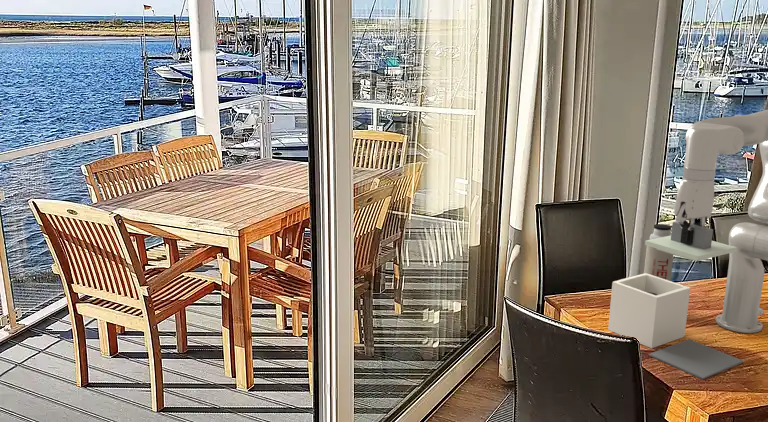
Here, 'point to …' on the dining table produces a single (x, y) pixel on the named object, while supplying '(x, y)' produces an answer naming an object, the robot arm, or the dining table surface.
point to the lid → (698, 249)
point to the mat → (696, 358)
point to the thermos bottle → (659, 255)
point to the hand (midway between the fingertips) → (690, 242)
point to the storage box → (649, 309)
